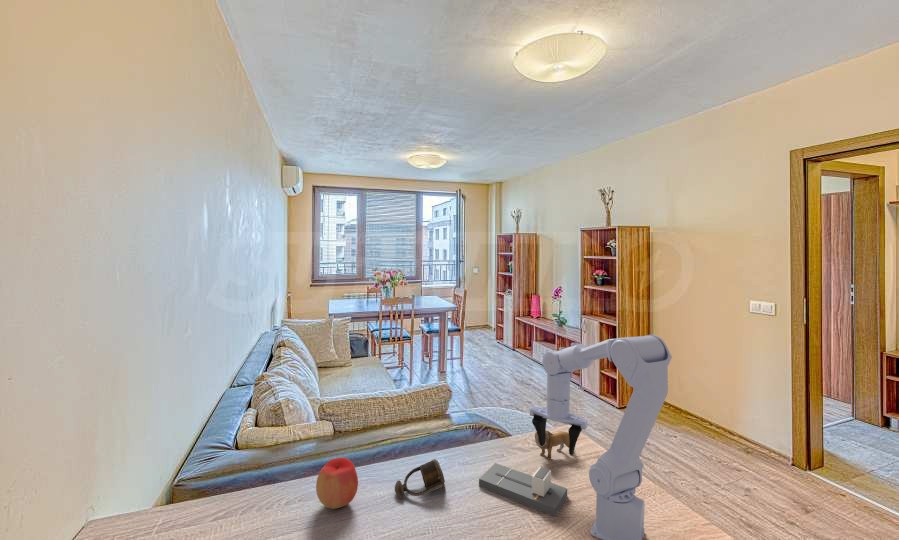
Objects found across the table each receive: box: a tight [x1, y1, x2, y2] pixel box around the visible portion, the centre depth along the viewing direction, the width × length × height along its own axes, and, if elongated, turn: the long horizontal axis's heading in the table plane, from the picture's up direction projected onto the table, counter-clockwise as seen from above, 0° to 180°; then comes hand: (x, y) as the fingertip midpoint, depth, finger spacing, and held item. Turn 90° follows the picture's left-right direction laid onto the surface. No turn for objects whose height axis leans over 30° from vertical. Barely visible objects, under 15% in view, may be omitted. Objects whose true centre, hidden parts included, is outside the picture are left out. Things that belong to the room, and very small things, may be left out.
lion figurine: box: [534, 430, 575, 461], centre depth 114 cm, size 15×5×9 cm, turn 118°
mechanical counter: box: [394, 459, 446, 499], centre depth 97 cm, size 7×13×10 cm
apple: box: [315, 457, 359, 510], centre depth 91 cm, size 10×10×10 cm
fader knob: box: [531, 466, 552, 497], centre depth 94 cm, size 3×5×4 cm, turn 146°
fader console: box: [478, 462, 568, 518], centre depth 97 cm, size 20×9×2 cm, turn 56°
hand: (556, 448), depth 100 cm, fingers open, 7 cm apart
